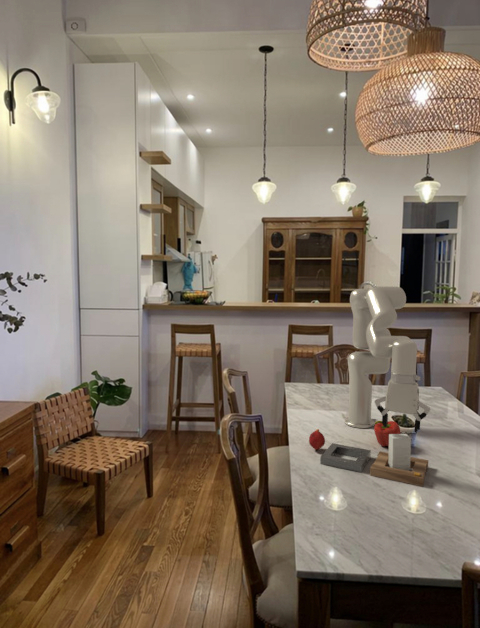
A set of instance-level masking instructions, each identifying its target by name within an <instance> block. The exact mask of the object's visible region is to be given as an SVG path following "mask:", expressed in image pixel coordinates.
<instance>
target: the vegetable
mask: <svg viewBox="0 0 480 628" xmlns="http://www.w3.org/2000/svg"><path fill="white" fill-rule="evenodd" d="M374 422H375V425H374V426H373V428H374V435H375V437H376V441H377V442H378V444H379V445H380V446H382V447H388V448H389V434H402V433H401V432H402V431H401V428H400V425H399V424H398V423H397V422H396V421H393V420H391V421H389V420H388V424H387V426H386V427H384V424H382V420H377V421H374Z"/></svg>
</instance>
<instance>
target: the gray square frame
mask: <svg viewBox="0 0 480 628" xmlns="http://www.w3.org/2000/svg"><path fill="white" fill-rule="evenodd" d="M371 452H372V451H371V449H366V448H365V449H364V448H361V447H356V446H355V447H354V446H349V445H344V444H338V443H334V442H333V443H331V444H330V445H329V447H327V448H326V450H324V452H323V453H322V455H321V456H320V463H319V464H321V465H324V466H328V467H329V466H330V467H334V468H338V469H344V470H348V471H354V472H358V473H362V472H363V471H364V469H365V467H366V465H367V463H368V462H369V460H370V459H371V455H372V453H371ZM337 454H338V455H343V456H344V455H345V456H349V457H353V458H356V459H349V458H345V457H340V456H339V457H338V456H336V455H337Z"/></svg>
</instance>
